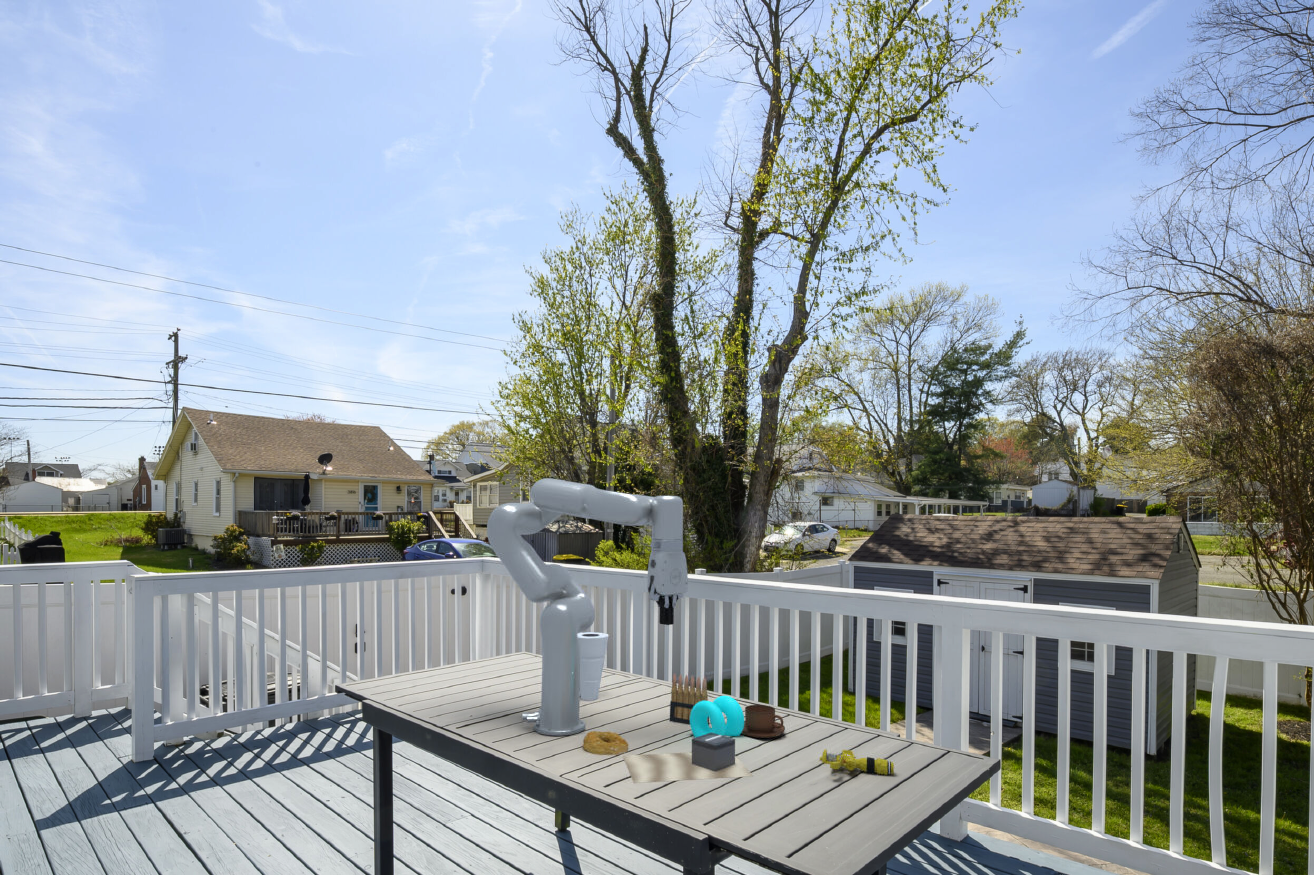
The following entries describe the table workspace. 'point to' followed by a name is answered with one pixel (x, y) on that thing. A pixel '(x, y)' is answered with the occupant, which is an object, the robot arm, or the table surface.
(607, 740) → the bagel
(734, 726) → the donuts
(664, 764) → the beige wavy cloth
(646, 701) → the table surface
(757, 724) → the cup and saucer
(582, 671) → the cup
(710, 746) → the dark grey box
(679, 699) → the ammunition clip
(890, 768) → the sprinkler
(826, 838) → the table surface
